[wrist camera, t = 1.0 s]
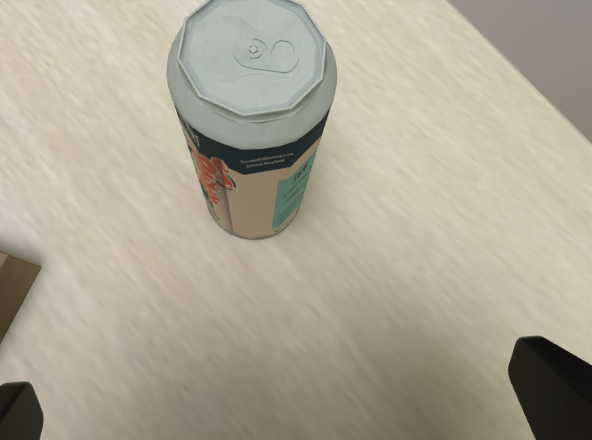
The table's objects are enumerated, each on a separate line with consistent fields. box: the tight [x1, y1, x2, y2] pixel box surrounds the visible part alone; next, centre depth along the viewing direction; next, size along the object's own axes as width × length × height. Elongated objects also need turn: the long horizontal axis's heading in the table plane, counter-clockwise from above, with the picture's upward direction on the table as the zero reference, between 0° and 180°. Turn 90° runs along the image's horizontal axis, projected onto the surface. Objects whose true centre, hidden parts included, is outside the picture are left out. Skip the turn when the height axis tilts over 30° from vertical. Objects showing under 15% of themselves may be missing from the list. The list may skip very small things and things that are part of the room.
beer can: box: [167, 0, 337, 239], centre depth 18 cm, size 5×5×12 cm
